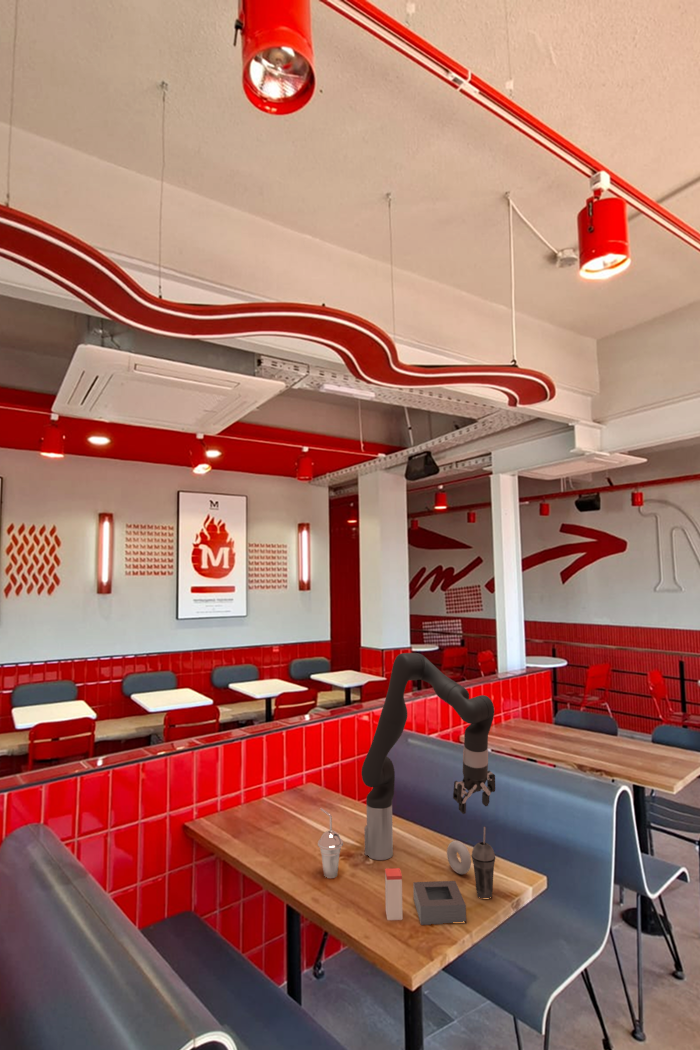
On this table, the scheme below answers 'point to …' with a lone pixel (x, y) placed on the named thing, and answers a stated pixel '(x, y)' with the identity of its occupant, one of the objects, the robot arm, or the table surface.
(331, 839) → the cup with straw
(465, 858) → the donut
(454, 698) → the robot arm
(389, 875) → the plug peg
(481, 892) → the beverage cup
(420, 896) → the square socket housing
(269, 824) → the table surface
